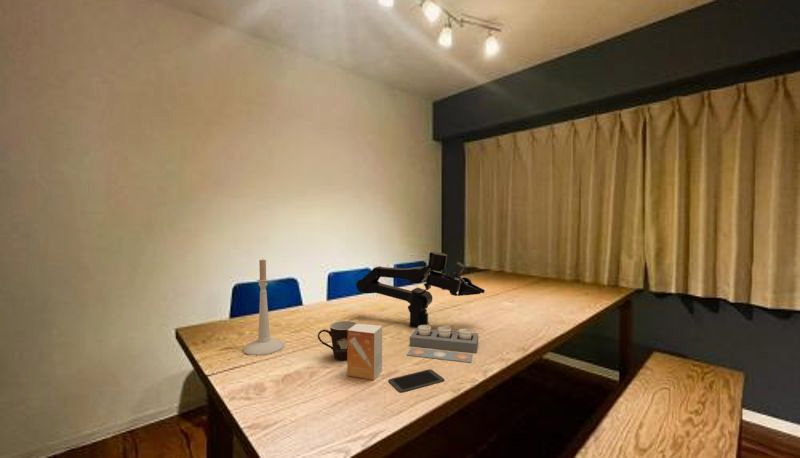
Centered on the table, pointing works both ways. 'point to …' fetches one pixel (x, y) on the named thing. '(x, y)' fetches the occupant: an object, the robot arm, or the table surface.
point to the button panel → (444, 341)
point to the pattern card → (440, 355)
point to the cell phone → (415, 380)
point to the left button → (424, 330)
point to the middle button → (444, 332)
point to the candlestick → (263, 323)
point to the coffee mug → (339, 338)
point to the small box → (364, 351)
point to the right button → (465, 334)
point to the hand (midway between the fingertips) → (482, 292)
